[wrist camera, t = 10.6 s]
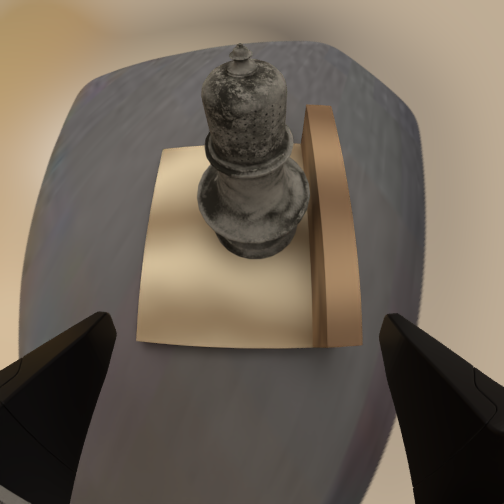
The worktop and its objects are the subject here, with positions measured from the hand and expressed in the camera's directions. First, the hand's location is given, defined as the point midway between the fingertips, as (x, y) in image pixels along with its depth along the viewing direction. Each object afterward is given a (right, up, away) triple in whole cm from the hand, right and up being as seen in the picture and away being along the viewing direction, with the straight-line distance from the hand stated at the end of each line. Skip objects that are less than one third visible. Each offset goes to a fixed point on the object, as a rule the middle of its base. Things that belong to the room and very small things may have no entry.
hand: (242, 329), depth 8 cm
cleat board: (-1, +3, +10) cm, 11 cm away
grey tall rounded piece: (+1, +4, +10) cm, 11 cm away
